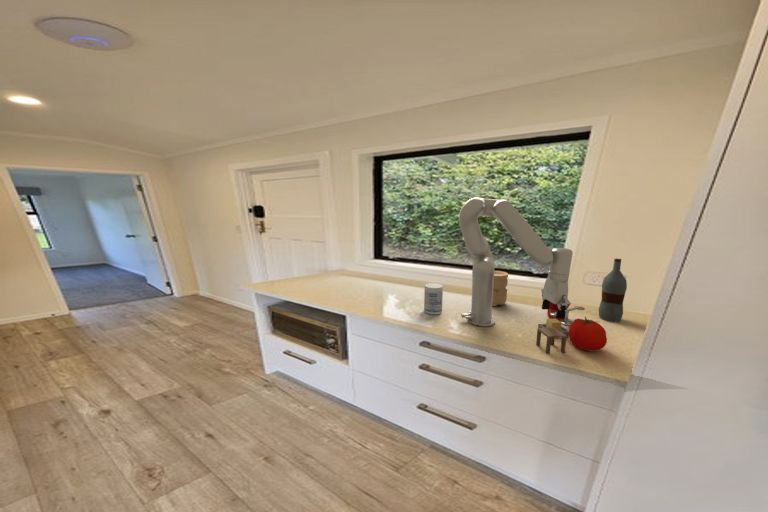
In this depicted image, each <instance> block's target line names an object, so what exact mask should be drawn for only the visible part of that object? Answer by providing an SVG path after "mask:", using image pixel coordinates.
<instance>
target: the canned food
mask: <svg viewBox="0 0 768 512" xmlns="http://www.w3.org/2000/svg"><path fill="white" fill-rule="evenodd" d="M567 299H568V296H567ZM568 300H569V299H568ZM561 307H562V305H561ZM557 309H558V306H557V304H554V303H552V302H550V306H549V309H547V312H546V313H547V314H546V315H547V317H548V319H557V320H559V321H565V314H564V318H556V316H552V315H550V313H551V312H554V313H555V312H557ZM565 313H566V312H565Z"/></svg>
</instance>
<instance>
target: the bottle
mask: <svg viewBox="0 0 768 512" xmlns="http://www.w3.org/2000/svg"><path fill="white" fill-rule="evenodd" d="M621 265H622V259H621V258H614V261H613V266H612V270H611V271H610V272H609V273H608V274H607V275H606V276H605V277H604V278H603V280H602V284H601V301H600V303H599V307H598V317H599V319H601V321H602V320H603V321H605V322H609V323H620V322H621V320H622V318H623V315H624V305H623V304H624V300H625V297H626V296H625V295H626V291H627V289H628V285H627V284H628V283H627V279H626V278H625V276H624V274H623V272H622V271H621Z"/></svg>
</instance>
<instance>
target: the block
mask: <svg viewBox="0 0 768 512" xmlns="http://www.w3.org/2000/svg"><path fill="white" fill-rule="evenodd" d="M545 324H546V328H551V327H554V328H556V329H557V330H559V331H561V326H562V324H561V320H557V319H551V318H546V323H545Z"/></svg>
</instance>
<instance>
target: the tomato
mask: <svg viewBox="0 0 768 512" xmlns="http://www.w3.org/2000/svg"><path fill="white" fill-rule="evenodd" d="M598 322H600V321H598V320H597V321H594V320H593V319H588V318H587V316H584V319H583V318H575V319H574V320H573V321H572V323H571V326H568V327H569V328H568V330H569V331H568V334H569V336H568V339H569V341H570V343H571V345H573V346H575V347H576V348H578V349H581V350H585V351H590V352H597V351H601V349H603V348H605V346H606V345H607V342H608V338H607V332H606V329H605V327H603V326H602V325H601V324H600V323H598Z"/></svg>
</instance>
